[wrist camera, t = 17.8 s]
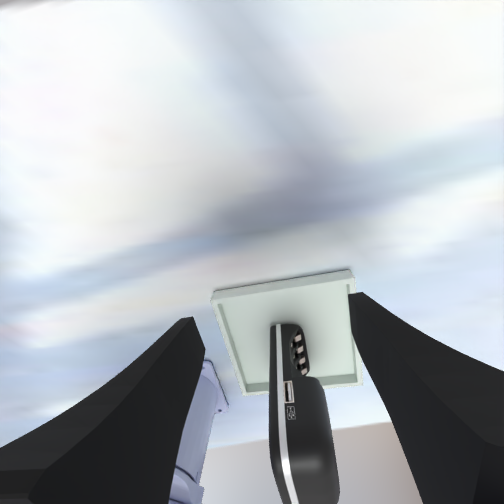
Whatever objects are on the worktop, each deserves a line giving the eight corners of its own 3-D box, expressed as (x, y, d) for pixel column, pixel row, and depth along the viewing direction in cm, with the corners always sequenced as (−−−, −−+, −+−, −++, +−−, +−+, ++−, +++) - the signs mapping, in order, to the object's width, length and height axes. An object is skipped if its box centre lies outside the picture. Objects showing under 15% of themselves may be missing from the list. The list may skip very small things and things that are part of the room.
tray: (244, 383, 28) (243, 396, 26) (213, 291, 23) (210, 300, 22) (358, 372, 26) (363, 385, 24) (349, 269, 21) (355, 277, 20)
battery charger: (317, 370, 25) (349, 526, 15) (280, 373, 26) (287, 526, 15) (308, 316, 23) (340, 459, 12) (268, 321, 23) (266, 462, 13)
